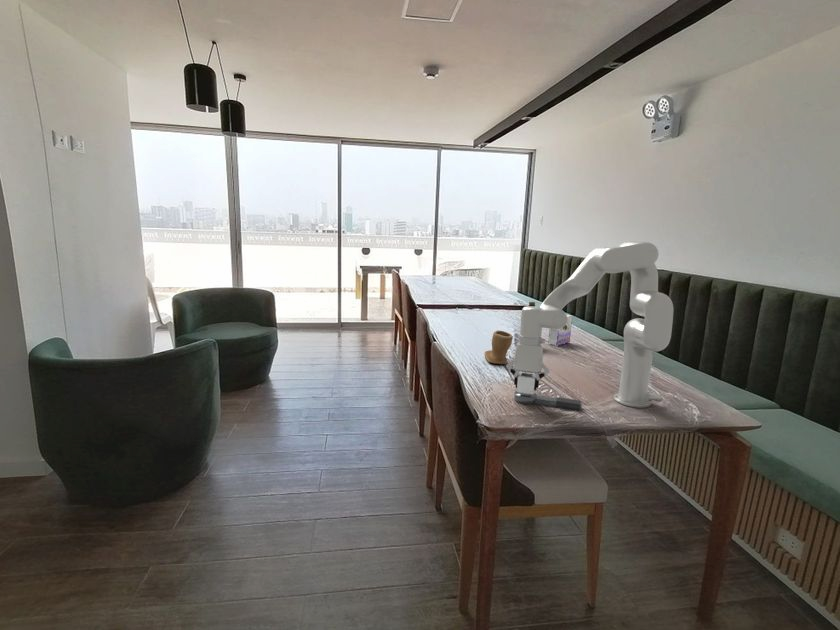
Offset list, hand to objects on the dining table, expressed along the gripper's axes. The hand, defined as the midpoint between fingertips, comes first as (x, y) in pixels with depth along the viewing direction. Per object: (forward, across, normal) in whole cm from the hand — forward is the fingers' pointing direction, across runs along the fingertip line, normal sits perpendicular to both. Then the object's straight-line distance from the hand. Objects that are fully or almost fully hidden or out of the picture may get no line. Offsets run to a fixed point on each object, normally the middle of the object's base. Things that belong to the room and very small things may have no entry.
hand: (525, 387), depth 155 cm
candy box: (+5, -11, -97) cm, 98 cm away
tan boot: (+5, +17, -47) cm, 50 cm away
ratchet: (+5, -8, 0) cm, 9 cm away
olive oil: (+5, +5, -83) cm, 83 cm away
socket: (+1, 0, 0) cm, 1 cm away
